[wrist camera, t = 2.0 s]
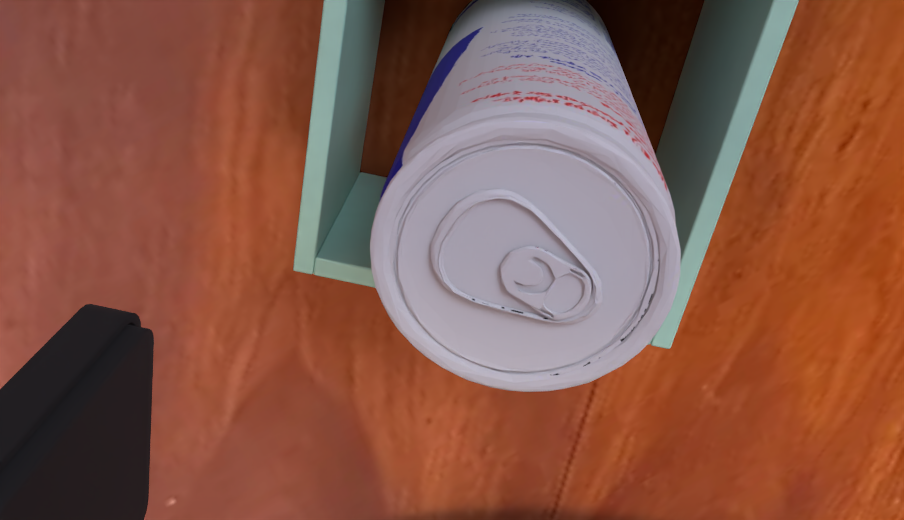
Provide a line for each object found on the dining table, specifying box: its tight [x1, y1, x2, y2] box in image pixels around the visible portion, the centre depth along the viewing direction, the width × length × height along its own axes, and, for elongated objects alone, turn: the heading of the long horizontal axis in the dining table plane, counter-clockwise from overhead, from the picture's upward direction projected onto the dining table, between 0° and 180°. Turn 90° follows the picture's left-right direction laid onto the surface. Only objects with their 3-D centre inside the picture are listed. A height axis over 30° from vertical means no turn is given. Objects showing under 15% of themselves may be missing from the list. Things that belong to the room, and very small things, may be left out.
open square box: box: [293, 0, 799, 349], centre depth 25 cm, size 11×11×7 cm
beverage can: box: [370, 0, 681, 392], centre depth 21 cm, size 6×6×15 cm
